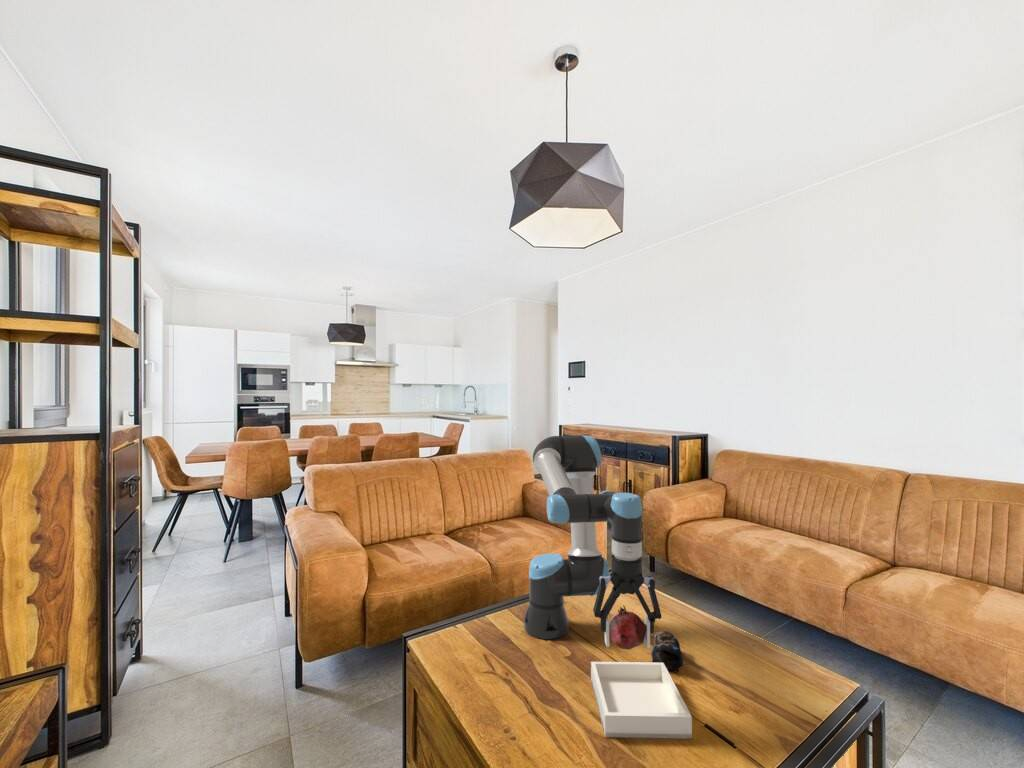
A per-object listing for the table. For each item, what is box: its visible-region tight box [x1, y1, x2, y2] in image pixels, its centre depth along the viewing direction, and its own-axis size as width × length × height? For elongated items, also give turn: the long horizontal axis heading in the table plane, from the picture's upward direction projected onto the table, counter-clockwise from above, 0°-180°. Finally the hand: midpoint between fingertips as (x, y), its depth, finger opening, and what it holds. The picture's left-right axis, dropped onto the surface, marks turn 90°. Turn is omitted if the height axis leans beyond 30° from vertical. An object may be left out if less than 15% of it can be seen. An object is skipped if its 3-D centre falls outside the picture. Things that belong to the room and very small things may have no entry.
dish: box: [590, 661, 693, 740], centre depth 111 cm, size 20×20×5 cm
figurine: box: [651, 629, 684, 673], centre depth 130 cm, size 9×8×15 cm
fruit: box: [609, 604, 646, 650], centre depth 111 cm, size 9×10×10 cm
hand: (627, 644), depth 111 cm, fingers closed on fruit, 9 cm apart
